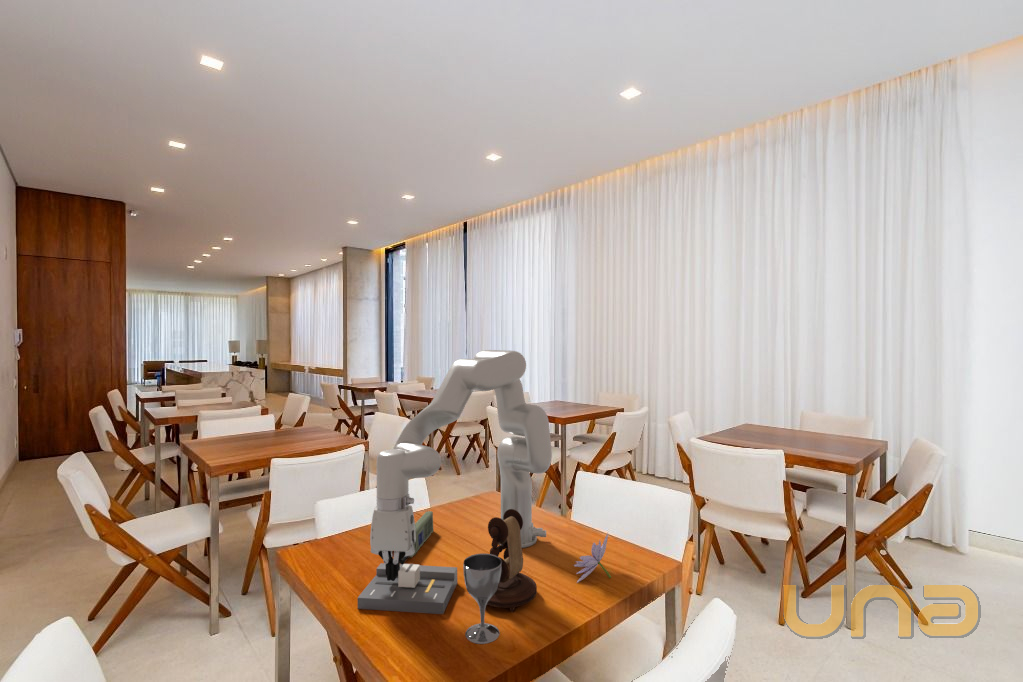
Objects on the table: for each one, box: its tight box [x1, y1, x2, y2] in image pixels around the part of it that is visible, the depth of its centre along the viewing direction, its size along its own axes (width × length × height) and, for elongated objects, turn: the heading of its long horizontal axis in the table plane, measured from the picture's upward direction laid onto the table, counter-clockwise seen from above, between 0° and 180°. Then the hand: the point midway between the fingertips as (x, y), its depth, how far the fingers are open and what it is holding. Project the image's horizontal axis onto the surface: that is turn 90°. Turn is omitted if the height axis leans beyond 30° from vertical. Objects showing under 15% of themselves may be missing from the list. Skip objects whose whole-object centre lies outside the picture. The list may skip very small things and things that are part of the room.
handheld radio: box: [400, 510, 434, 564], centre depth 145 cm, size 7×3×25 cm
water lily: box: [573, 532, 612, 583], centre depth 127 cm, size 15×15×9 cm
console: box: [357, 562, 458, 615], centre depth 117 cm, size 20×14×4 cm
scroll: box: [486, 509, 538, 613], centre depth 116 cm, size 15×15×20 cm
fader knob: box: [398, 563, 420, 588], centre depth 117 cm, size 4×4×4 cm
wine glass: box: [462, 552, 501, 645], centre depth 102 cm, size 8×8×15 cm
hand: (392, 577), depth 118 cm, fingers closed
